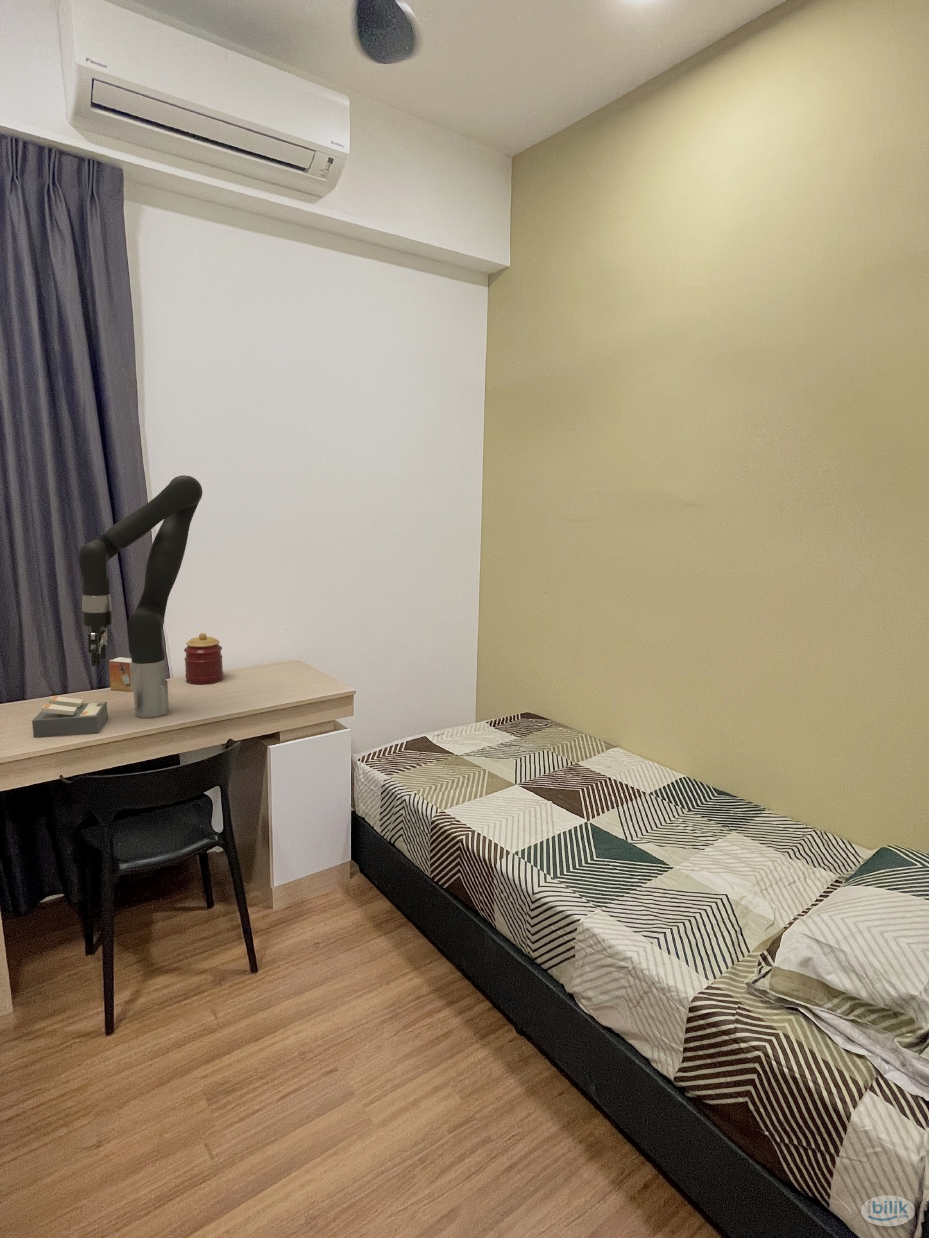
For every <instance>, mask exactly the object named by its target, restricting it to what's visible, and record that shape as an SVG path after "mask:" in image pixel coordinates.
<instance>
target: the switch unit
mask: <svg viewBox="0 0 929 1238" xmlns="http://www.w3.org/2000/svg"><path fill="white" fill-rule="evenodd" d="M61 706H64V705H61ZM70 707H73V706H70ZM108 715H109V714H108V703H107V701H102V702H86V703H85V702H83V704H82V705H81V706H80V707H77V711H76V713H75V714H74V715H65V714H56V713H48V712H41V711H40V712H39V713H38V714H37V715H36V716H35V717H33V719H32V720H31V723H32V733H33V738H35V739H36V738H48V737H59V736H60V737H62V736H63V737H64V736H77V735H91V734H99V732H100V731H101V730H102V727H103V726H104V725H105V723H106V721H107V720H108V717H109V716H108Z"/></svg>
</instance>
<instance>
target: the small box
mask: <svg viewBox="0 0 929 1238" xmlns="http://www.w3.org/2000/svg"><path fill="white" fill-rule="evenodd" d="M108 663H109V665H108V667H109V681H110V684H109V685H110V690H113V691H121V692H122V691H123V692H128V693H129V692H130V693H132V692H134V690H133V675H132V661H131V657H130V658H129V657H121V656H120V657H115V658H114V659H110V660H108Z"/></svg>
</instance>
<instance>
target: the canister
mask: <svg viewBox="0 0 929 1238" xmlns="http://www.w3.org/2000/svg"><path fill="white" fill-rule="evenodd" d="M185 645H186V647H184V649H183V651H184V653H185V657H184V661H185V663H184V668H185V674H184V675H185V681H186V682H187V683H189V684H192V685H210V684H216V683H219V682H221V681H222V680H223V678H224V671H223V667H224V666H223V655H222V653H221V652H222V650H223V646H222V645H220V641H219V640H218V639H217V638H215V637H212V636H207V634H206V633H204V632H201V633H199V635H198V637H193V638H191V639H190V640H188V641H186V643H185Z"/></svg>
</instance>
